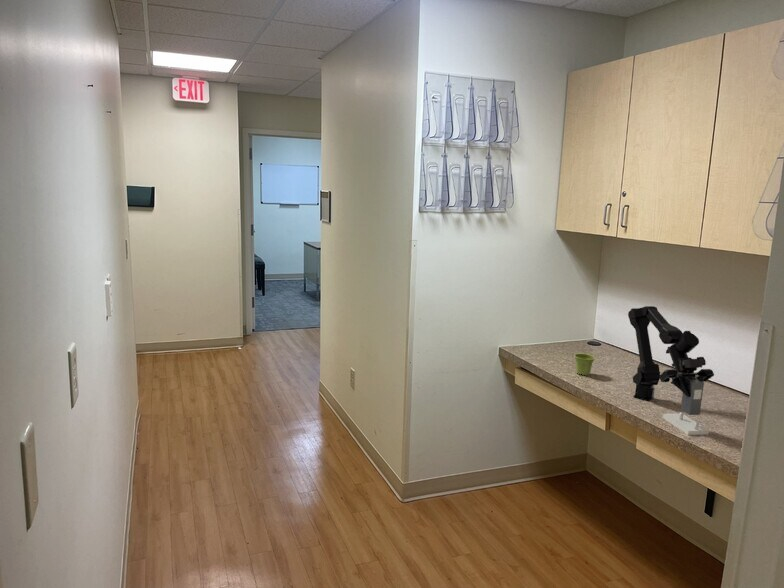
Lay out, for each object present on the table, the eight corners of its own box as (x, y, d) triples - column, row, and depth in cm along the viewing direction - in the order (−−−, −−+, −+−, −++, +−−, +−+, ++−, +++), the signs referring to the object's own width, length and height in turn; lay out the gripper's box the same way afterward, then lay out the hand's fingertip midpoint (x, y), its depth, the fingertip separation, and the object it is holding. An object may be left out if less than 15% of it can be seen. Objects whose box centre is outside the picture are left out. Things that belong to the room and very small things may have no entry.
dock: (662, 417, 225) (663, 407, 224) (681, 416, 226) (682, 407, 225) (687, 434, 209) (689, 424, 208) (708, 434, 210) (709, 424, 209)
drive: (680, 409, 217) (684, 377, 214) (690, 408, 217) (694, 377, 215) (689, 415, 211) (694, 382, 209) (699, 414, 212) (704, 382, 209)
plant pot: (585, 370, 281) (587, 353, 279) (597, 376, 272) (599, 358, 271) (568, 371, 279) (570, 353, 277) (579, 377, 270) (581, 359, 268)
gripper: (667, 348, 213) (682, 387, 204) (714, 348, 215) (730, 387, 206) (653, 362, 222) (666, 400, 213) (698, 362, 224) (713, 399, 215)
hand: (694, 396), depth 212 cm, fingers closed on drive, 4 cm apart
